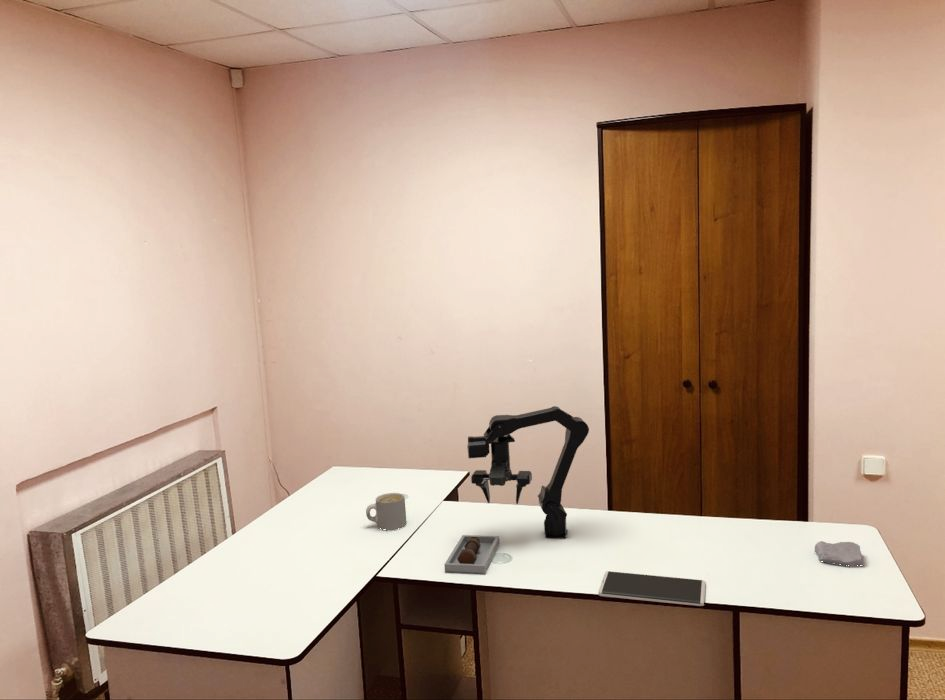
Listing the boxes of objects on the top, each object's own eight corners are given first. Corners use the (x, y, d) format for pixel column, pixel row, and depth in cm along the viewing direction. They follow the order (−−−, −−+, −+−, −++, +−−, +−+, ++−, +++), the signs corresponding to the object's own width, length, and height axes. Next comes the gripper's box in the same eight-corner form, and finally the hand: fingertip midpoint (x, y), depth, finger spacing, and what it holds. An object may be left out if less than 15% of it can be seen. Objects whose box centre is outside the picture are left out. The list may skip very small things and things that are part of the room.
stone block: (866, 574, 205) (858, 553, 214) (866, 559, 203) (859, 538, 212) (819, 572, 208) (813, 551, 217) (818, 558, 207) (813, 537, 216)
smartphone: (704, 609, 189) (704, 602, 189) (598, 597, 198) (597, 591, 197) (705, 585, 201) (705, 579, 201) (605, 575, 210) (605, 570, 210)
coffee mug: (408, 519, 262) (406, 492, 260) (404, 530, 252) (402, 502, 250) (370, 520, 262) (368, 493, 261) (365, 531, 253) (362, 503, 251)
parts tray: (499, 543, 236) (499, 536, 235) (485, 574, 215) (484, 566, 214) (463, 542, 238) (462, 535, 238) (444, 572, 217) (444, 564, 217)
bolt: (477, 552, 233) (469, 571, 218) (463, 544, 234) (454, 563, 219) (486, 536, 232) (478, 555, 217) (471, 529, 233) (463, 546, 218)
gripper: (465, 463, 230) (468, 511, 232) (525, 463, 225) (528, 513, 228) (474, 452, 241) (476, 499, 243) (531, 453, 236) (533, 500, 238)
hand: (503, 503), depth 238 cm, fingers open, 9 cm apart
